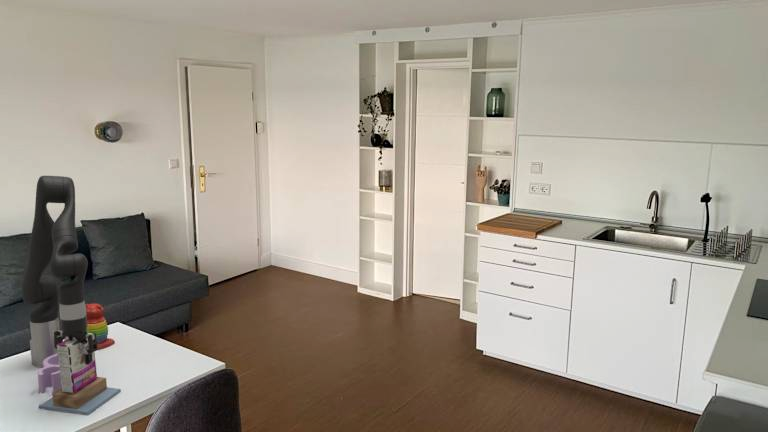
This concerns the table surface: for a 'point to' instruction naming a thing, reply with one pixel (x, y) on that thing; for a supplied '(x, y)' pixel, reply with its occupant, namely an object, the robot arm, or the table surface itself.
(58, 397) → the walnut plinth
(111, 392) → the slate blue board
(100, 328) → the stacking bear
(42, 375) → the clip
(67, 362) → the candy bar box
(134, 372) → the table surface
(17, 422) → the table surface
